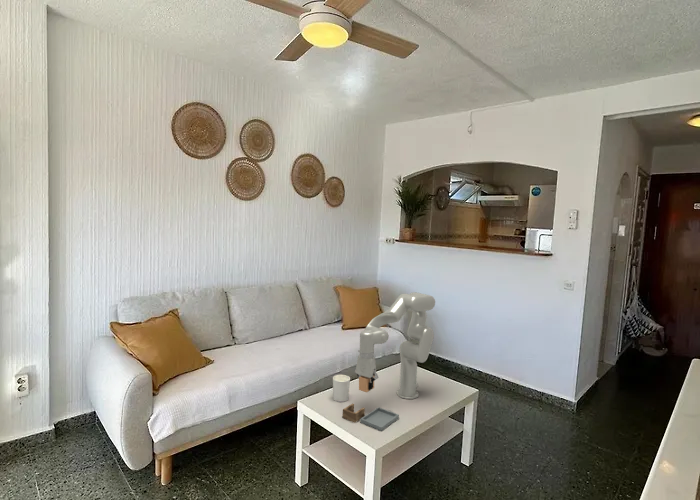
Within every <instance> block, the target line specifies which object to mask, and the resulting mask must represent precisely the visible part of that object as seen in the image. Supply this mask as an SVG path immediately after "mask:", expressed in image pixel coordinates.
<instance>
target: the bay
mask: <svg viewBox="0 0 700 500" xmlns="http://www.w3.org/2000/svg"><path fill="white" fill-rule="evenodd" d="M365 415H366V408H365V407H362V408H360V409H359V410H357V411H355V403H351V404H349V405H348V406H346V407H344V408H343V409H342V419H344V420H347V421H348V422H349V421H350V422H351V423H354V424H355V423H357V422H360V419H361V418H362V417H364V416H365Z"/></svg>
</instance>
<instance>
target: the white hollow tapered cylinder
mask: <svg viewBox="0 0 700 500" xmlns="http://www.w3.org/2000/svg"><path fill="white" fill-rule="evenodd" d="M350 383H351V377H350V376H349V375H345V374H335V375H334V376H332V395H333V397H332V398H333V400H334V401H335V402H338V403H344V402H347V401H348V400H349V392H350Z"/></svg>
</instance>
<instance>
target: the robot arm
mask: <svg viewBox="0 0 700 500" xmlns="http://www.w3.org/2000/svg"><path fill="white" fill-rule="evenodd" d="M435 305H436V299H435V297H434V296H432V295H430V294H425V293H420V292H415V291H413V292H411V293H401V294H399V296H397V298H396V299H395V301H394V302H393V303H392V304H391V305H390V306H389V308H388V309H387V310H386V311H384V312H382V313H380V314H379V315H376V316H375V317H373V318H372V319H371V320H370V321H369V323H368V324H367V325H366V327H365V328H364V330H361V331H360V333H359V349H358V350H357V352H358V354H359V355H358V356H357V360H356V366H355V367H356V368H355V370H354V373H355V374H356V376H357V378H359V377H360V376H364V377H367V378H369V386H368V389H369V390H370V391H371V389H372V388H373V381H374V382H375V381H376V380H378V379H379V375H378V373H377V362H376V358H375V345H382V344H385V343H387V341H388V340H389V338H390V337H389V333H388V332H387V331H386V330H385V329H382V328H381V327H382V326H385V325H388V324H395V323H398V322H399V321H401V319H402V318H403V316H404V315H405V313H406V312H407V311H412V312H411V313H412V314H411V319H410V322H409V324H408V329H407V331H406V332H407V337H409V339H411V340H414V341H417V342H414V341H411V340H404V341H402V342H401V344H400V346H399V355H400V368H399V369H400V370H399V374H400V375H399V388H398V389H397V390H396V395H397V396H398V397H399V398H401V399H404V400H414V399H417V398H418V397H419V392H418V391H417V388H418V387H419V384H418V383H417V378H418V377H417V376H418V375H417V373H418V364H417V362H418V363H422V364H423V363H425V362H426V361H427V360H428V358H429V355H430V351H431V348H432V345H433V341H434V335H435V334H434V330H433V329H432V328H431V327H430V326H428V325H426V323H427V318H428V317H427V316H428V315H427V312H428V311H432V310H433V309H434V308H435ZM426 311H427V312H426ZM418 342H419V343H418ZM373 376H375V377H373ZM371 379H372V380H371ZM373 389H374V388H373ZM373 389H372V390H373Z"/></svg>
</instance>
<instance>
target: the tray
mask: <svg viewBox="0 0 700 500" xmlns="http://www.w3.org/2000/svg"><path fill="white" fill-rule="evenodd" d="M399 419H400V414H399V413H396V412H394V411H390V410H388V409H385V408H382V407H380V406H378V407H376V408H374V409H372V411H370V412H369V413H367V414H365V416H364V417H362V418H361V419H360V420H359V423H360V424H362V425H365V426H366V427H370V428H371V429H375V430H377V431H379V432H383V431H384V430H385V429H387V428H388V427H389V426H391V425H392V424H393V423H395V422H396V421H397V420H399Z"/></svg>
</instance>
